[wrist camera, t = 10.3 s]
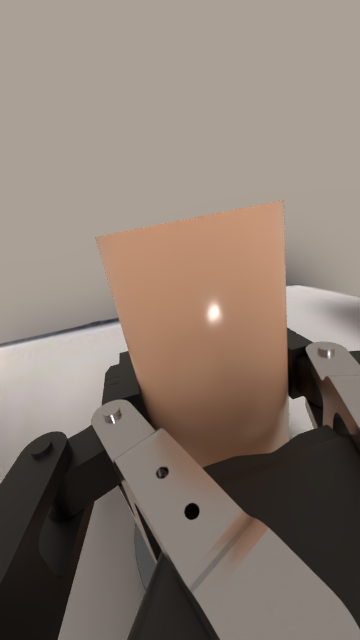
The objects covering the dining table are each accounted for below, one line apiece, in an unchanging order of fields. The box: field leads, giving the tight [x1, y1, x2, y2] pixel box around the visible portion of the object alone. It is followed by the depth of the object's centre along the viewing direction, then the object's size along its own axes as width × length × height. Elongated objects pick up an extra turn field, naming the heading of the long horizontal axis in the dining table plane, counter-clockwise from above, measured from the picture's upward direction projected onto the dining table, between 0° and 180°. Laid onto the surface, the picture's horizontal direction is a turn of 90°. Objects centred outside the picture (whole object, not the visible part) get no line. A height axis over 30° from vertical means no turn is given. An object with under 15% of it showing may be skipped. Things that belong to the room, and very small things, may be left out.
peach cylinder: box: [96, 201, 290, 469], centre depth 10 cm, size 6×6×13 cm
